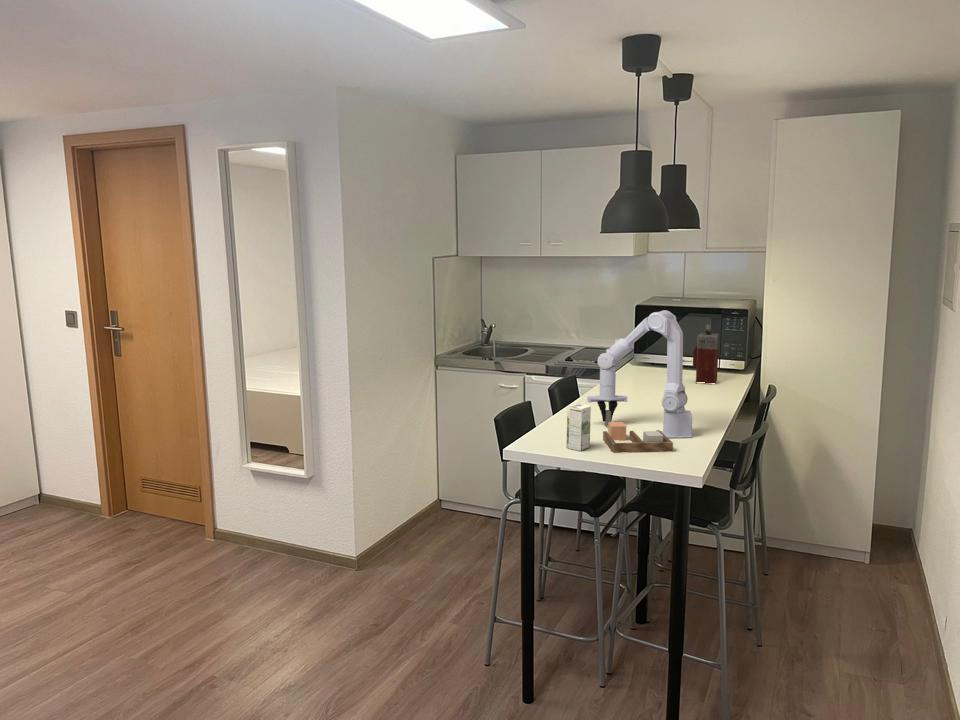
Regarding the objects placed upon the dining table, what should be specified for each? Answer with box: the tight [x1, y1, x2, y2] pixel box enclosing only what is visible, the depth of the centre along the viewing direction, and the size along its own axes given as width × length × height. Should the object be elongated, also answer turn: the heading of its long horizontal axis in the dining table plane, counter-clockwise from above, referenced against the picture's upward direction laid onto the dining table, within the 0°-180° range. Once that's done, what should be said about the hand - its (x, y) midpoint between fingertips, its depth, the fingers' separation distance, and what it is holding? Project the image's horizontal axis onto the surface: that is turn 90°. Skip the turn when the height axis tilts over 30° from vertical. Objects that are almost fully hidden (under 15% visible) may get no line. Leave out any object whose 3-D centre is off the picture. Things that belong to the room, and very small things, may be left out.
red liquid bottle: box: [692, 324, 720, 384], centre depth 351 cm, size 9×11×28 cm
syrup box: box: [566, 403, 592, 452], centre depth 241 cm, size 6×6×14 cm
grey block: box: [642, 430, 663, 442], centre depth 242 cm, size 5×6×5 cm
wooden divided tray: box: [602, 429, 674, 453], centre depth 245 cm, size 20×16×3 cm
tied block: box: [604, 409, 627, 441], centre depth 261 cm, size 5×20×6 cm, turn 2°
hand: (607, 420), depth 271 cm, fingers closed on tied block
